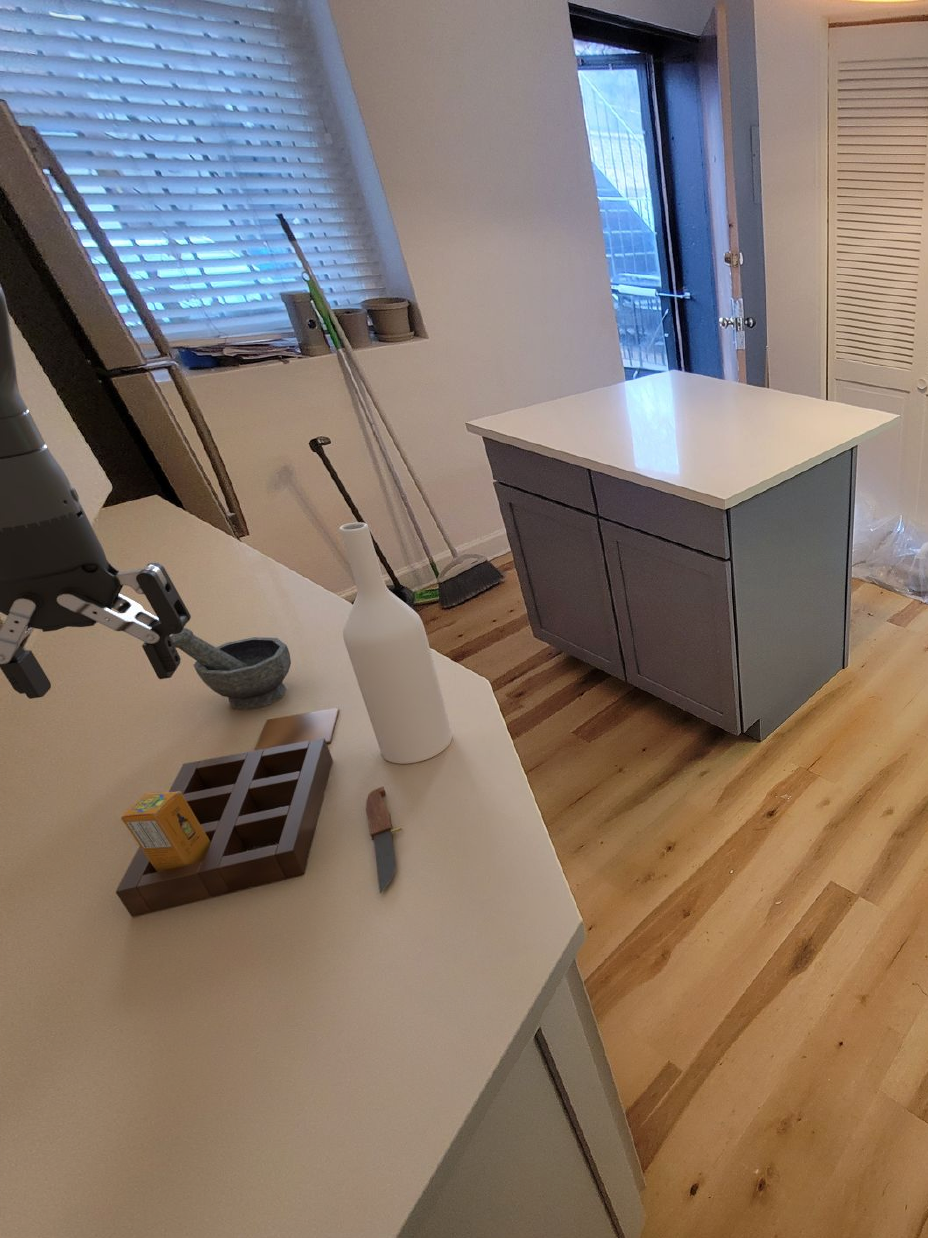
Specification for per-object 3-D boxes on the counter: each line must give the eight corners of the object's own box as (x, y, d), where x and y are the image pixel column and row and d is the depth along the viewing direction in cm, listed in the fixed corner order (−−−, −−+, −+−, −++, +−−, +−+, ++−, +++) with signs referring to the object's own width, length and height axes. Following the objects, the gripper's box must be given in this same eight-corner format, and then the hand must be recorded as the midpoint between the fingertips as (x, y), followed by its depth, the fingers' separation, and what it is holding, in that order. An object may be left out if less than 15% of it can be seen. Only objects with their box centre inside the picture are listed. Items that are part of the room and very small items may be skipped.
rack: (131, 917, 65) (114, 892, 63) (194, 786, 80) (183, 763, 79) (304, 874, 70) (293, 850, 69) (333, 760, 86) (324, 737, 84)
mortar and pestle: (299, 671, 102) (272, 599, 96) (304, 701, 96) (275, 626, 90) (200, 694, 96) (164, 618, 90) (199, 728, 89) (160, 649, 84)
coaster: (253, 758, 85) (252, 755, 85) (267, 721, 91) (266, 719, 91) (330, 743, 88) (329, 741, 88) (339, 709, 95) (338, 707, 94)
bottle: (456, 752, 88) (399, 532, 74) (383, 772, 84) (307, 544, 70) (448, 719, 94) (393, 510, 80) (379, 736, 90) (308, 519, 76)
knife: (413, 877, 70) (378, 890, 68) (415, 884, 70) (381, 897, 68) (391, 783, 81) (361, 792, 79) (393, 789, 82) (363, 799, 80)
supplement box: (187, 864, 71) (145, 790, 66) (223, 862, 71) (185, 789, 66) (163, 890, 68) (117, 815, 63) (201, 888, 68) (159, 813, 63)
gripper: (-159, 536, 48) (-29, 725, 55) (113, 515, 53) (196, 689, 61) (-92, 503, 54) (18, 678, 61) (147, 487, 59) (219, 649, 67)
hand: (107, 683), depth 61 cm, fingers open, 8 cm apart
